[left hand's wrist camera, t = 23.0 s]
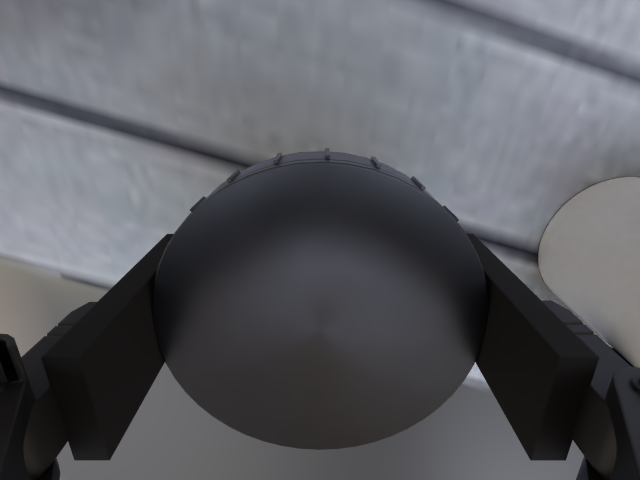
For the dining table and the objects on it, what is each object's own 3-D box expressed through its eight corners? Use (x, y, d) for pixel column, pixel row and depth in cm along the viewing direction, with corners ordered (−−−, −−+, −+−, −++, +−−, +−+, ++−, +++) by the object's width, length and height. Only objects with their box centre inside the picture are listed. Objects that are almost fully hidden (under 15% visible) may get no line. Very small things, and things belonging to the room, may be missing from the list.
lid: (522, 324, 12) (550, 356, 11) (295, 450, 14) (292, 491, 13) (357, 73, 10) (364, 71, 8) (107, 273, 12) (76, 300, 10)
